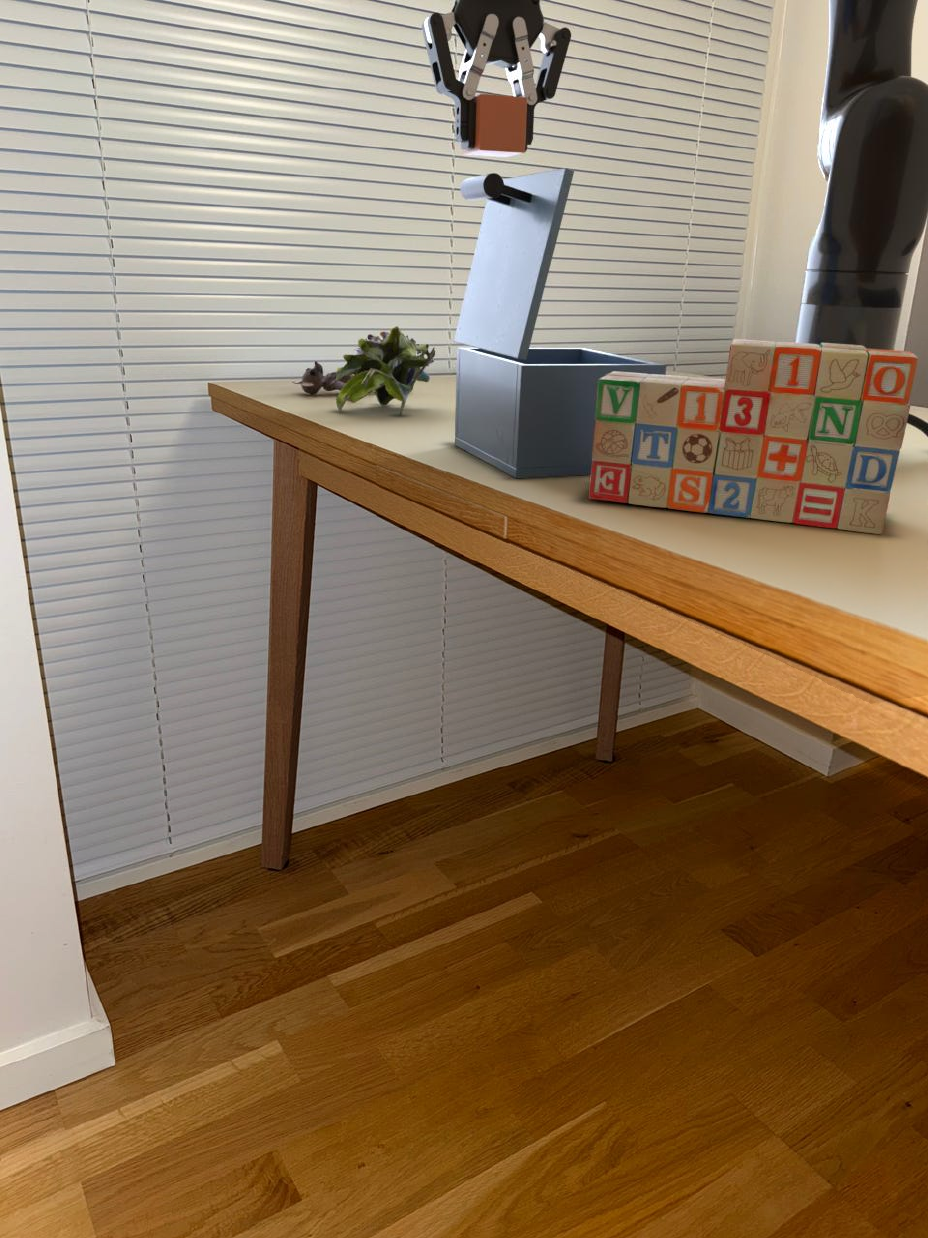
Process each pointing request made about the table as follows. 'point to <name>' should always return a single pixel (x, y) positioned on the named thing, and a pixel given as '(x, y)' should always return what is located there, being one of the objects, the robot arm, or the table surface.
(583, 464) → the blue-grey open box
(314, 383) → the grey irregular figure
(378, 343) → the green leafy plant
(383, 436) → the table surface
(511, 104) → the block
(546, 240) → the lid
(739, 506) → the stack of blocks
